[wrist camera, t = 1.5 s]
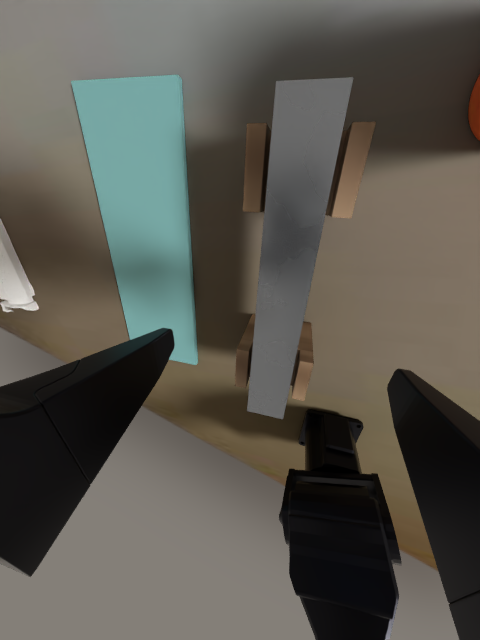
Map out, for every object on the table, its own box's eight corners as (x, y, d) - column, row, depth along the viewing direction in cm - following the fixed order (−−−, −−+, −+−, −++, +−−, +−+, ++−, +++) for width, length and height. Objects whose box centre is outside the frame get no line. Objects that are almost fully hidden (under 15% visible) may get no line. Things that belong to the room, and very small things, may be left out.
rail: (285, 392, 21) (282, 419, 18) (253, 385, 21) (247, 410, 19) (342, 105, 11) (353, 77, 9) (282, 106, 12) (276, 80, 9)
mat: (198, 362, 29) (196, 365, 28) (135, 349, 30) (133, 352, 30) (181, 78, 16) (177, 74, 16) (77, 84, 18) (71, 81, 17)
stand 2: (303, 355, 24) (303, 400, 19) (249, 345, 26) (234, 385, 20) (311, 323, 22) (313, 363, 17) (252, 314, 24) (236, 349, 18)
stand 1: (336, 212, 18) (351, 218, 12) (260, 207, 19) (242, 211, 13) (350, 149, 16) (375, 121, 10) (265, 148, 17) (246, 123, 11)
